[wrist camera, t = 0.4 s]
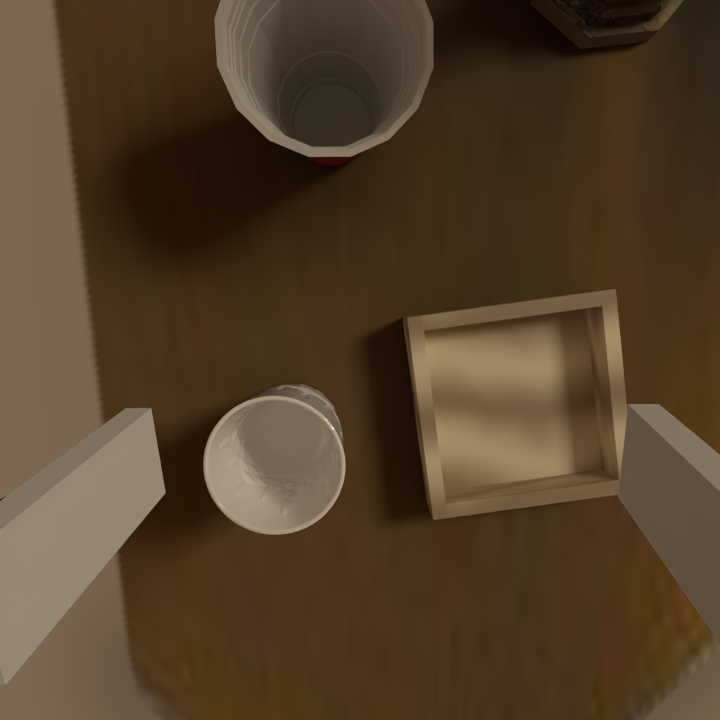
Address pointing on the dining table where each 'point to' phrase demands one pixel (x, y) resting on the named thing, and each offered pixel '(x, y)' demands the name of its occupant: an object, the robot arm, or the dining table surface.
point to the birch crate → (518, 402)
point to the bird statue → (606, 19)
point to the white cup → (276, 460)
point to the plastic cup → (325, 70)
